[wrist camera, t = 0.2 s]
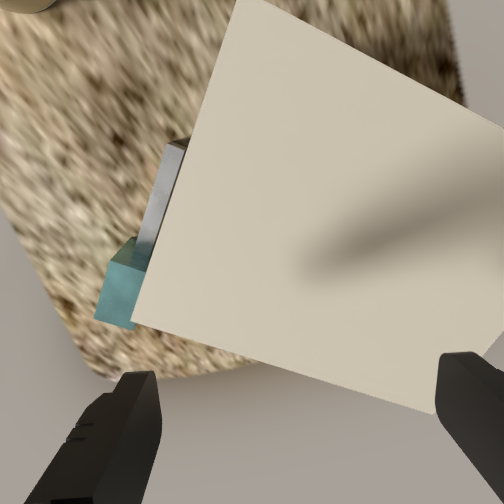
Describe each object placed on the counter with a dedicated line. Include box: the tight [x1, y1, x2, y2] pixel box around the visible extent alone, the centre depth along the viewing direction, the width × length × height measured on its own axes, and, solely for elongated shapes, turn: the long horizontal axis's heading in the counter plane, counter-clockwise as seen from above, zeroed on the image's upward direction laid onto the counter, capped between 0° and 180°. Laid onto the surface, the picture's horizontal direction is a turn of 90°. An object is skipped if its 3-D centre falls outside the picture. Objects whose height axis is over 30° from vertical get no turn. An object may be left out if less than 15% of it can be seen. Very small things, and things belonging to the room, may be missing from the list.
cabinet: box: [130, 0, 504, 415], centre depth 22 cm, size 15×17×17 cm
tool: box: [94, 141, 187, 330], centre depth 28 cm, size 16×4×6 cm, turn 157°
